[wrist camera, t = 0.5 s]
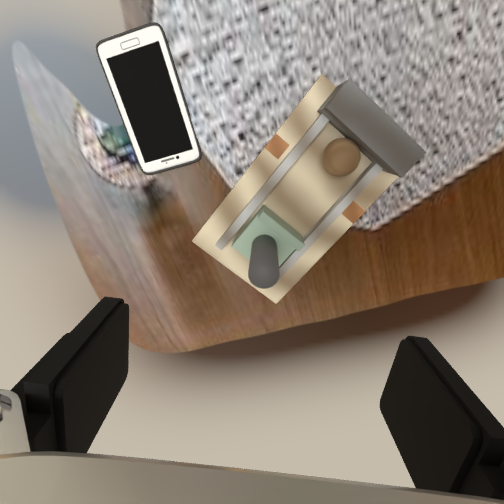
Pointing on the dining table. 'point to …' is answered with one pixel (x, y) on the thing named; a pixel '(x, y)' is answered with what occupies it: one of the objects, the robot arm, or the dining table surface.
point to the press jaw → (266, 246)
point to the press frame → (313, 178)
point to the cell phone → (149, 98)
